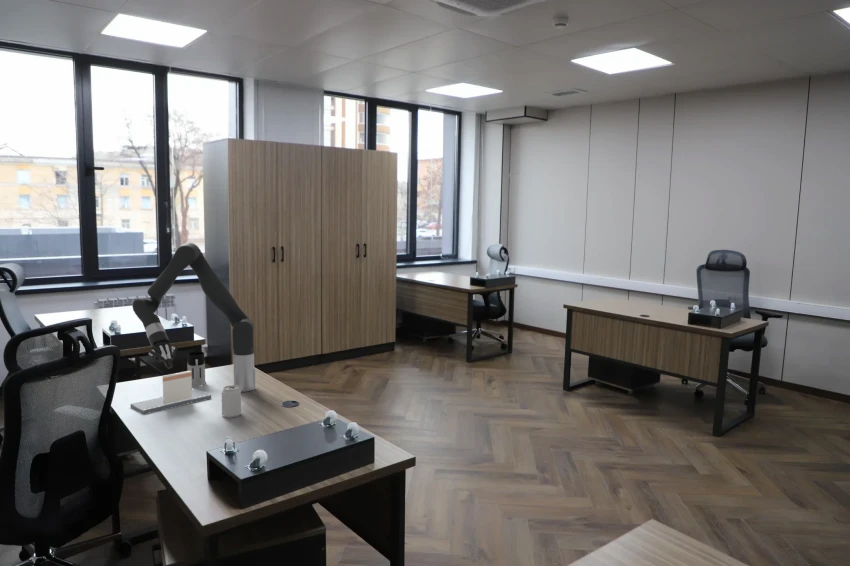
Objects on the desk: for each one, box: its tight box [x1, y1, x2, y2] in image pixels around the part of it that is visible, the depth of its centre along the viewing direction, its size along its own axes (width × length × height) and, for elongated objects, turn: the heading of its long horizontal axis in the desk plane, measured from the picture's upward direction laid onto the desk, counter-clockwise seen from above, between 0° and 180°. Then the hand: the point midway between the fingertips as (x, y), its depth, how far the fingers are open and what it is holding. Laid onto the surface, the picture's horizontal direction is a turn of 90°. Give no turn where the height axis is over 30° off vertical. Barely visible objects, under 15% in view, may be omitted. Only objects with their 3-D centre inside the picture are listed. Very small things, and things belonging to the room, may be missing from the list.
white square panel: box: [162, 370, 193, 404], centre depth 254 cm, size 12×1×12 cm, turn 138°
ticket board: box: [130, 388, 212, 415], centre depth 258 cm, size 30×12×2 cm, turn 138°
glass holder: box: [186, 351, 207, 387], centre depth 283 cm, size 9×14×15 cm, turn 23°
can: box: [221, 384, 242, 419], centre depth 244 cm, size 8×8×12 cm
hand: (170, 367), depth 257 cm, fingers closed
